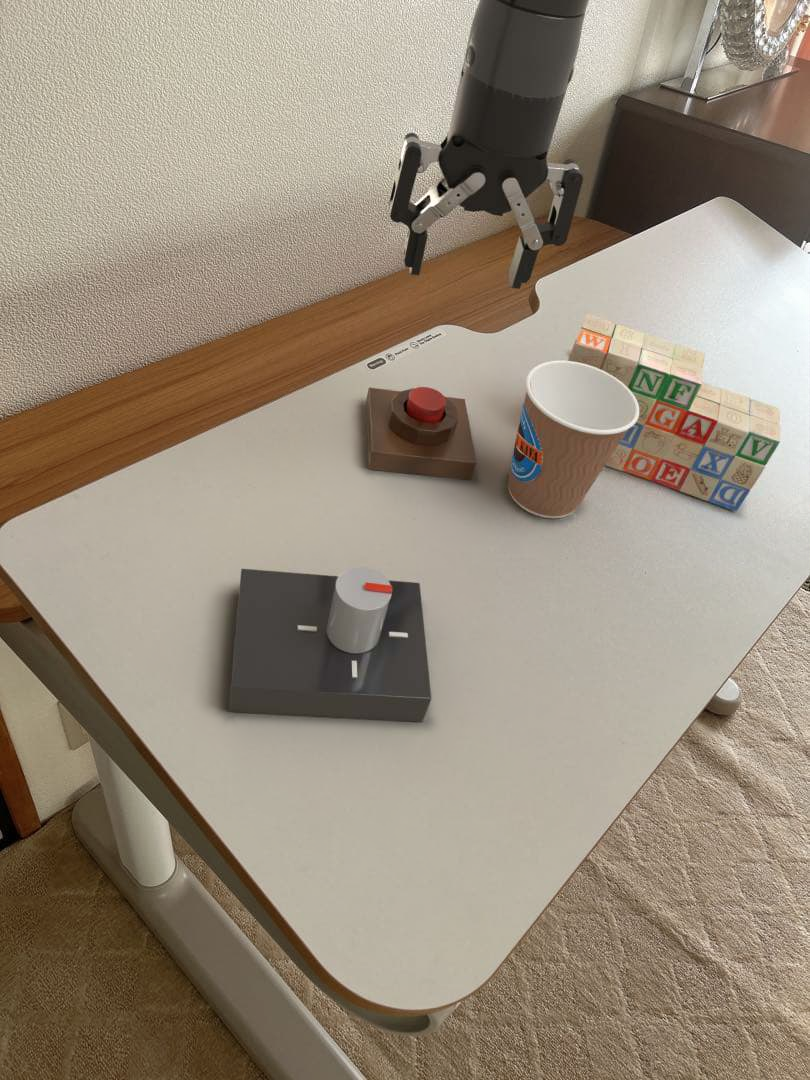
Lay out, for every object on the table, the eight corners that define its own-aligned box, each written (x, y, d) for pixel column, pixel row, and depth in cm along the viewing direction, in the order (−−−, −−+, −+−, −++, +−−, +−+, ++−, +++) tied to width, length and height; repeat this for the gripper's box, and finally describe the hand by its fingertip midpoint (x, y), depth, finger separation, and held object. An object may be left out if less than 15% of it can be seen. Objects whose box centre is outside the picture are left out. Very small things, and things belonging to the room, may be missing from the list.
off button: (407, 422, 84) (410, 407, 82) (404, 399, 86) (408, 384, 85) (444, 426, 84) (448, 411, 83) (440, 403, 87) (444, 389, 86)
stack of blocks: (739, 478, 94) (797, 383, 85) (736, 514, 89) (797, 418, 81) (548, 409, 96) (586, 310, 87) (536, 441, 92) (575, 340, 83)
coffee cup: (483, 454, 88) (517, 353, 80) (580, 464, 90) (623, 367, 82) (499, 527, 81) (537, 424, 73) (604, 536, 83) (653, 437, 75)
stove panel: (228, 712, 62) (231, 686, 60) (238, 593, 70) (241, 566, 68) (423, 722, 65) (432, 697, 63) (412, 606, 72) (420, 581, 70)
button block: (368, 469, 83) (375, 436, 80) (365, 404, 90) (371, 372, 87) (471, 480, 85) (481, 448, 82) (459, 415, 92) (469, 384, 89)
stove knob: (324, 650, 64) (334, 603, 60) (327, 607, 67) (337, 560, 63) (379, 656, 64) (392, 610, 61) (380, 614, 67) (393, 567, 63)
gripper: (601, 69, 66) (538, 265, 77) (413, 34, 63) (377, 242, 75) (623, 108, 61) (553, 313, 72) (420, 72, 58) (380, 289, 70)
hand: (463, 277), depth 74 cm, fingers open, 8 cm apart
